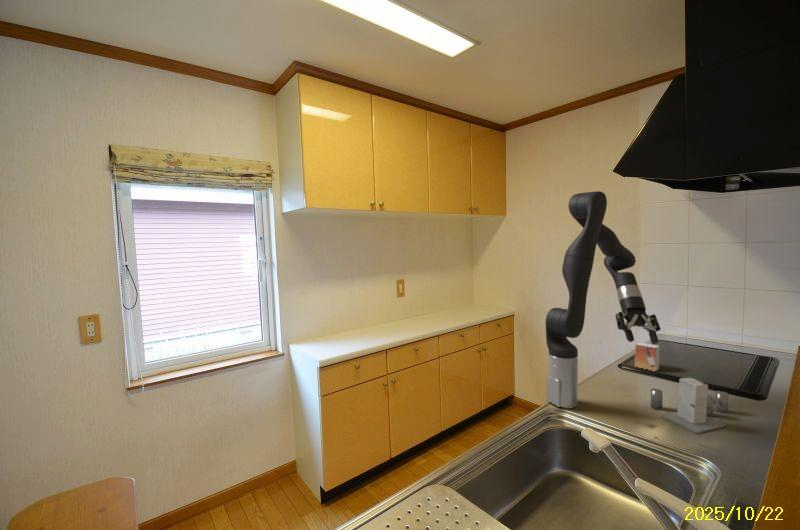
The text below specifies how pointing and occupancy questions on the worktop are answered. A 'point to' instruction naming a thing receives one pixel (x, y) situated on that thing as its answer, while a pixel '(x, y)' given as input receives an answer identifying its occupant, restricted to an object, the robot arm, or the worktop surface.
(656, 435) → the worktop surface
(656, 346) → the small box
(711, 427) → the slate tile
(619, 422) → the worktop surface
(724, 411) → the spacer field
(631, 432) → the worktop surface
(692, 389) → the skincare box
